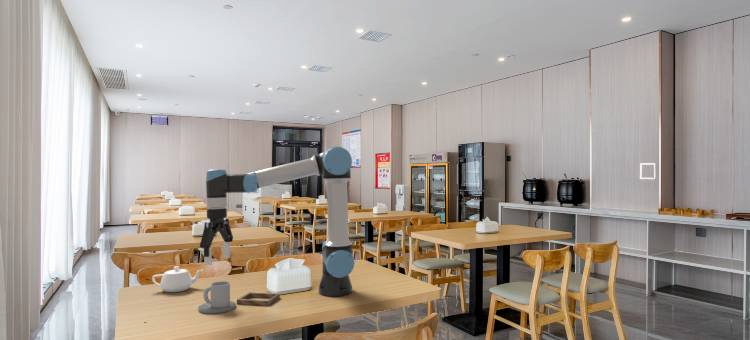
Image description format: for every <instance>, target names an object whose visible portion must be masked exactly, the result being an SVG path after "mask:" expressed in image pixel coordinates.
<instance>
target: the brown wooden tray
mask: <svg viewBox="0 0 750 340" xmlns="http://www.w3.org/2000/svg"><path fill="white" fill-rule="evenodd" d="M280 295H281V294H280V293H272V292H271V293H270V292H269V293H268V292H254V291H253V292H252V291H250V292H247V293H246V294H244V295H243V296H242V295H241V296H240V297H239V298H237V299H236V305H247V306H249V305H250V306H263V307H269V306H271V305H272V304H273V303H275V302H276V301H278V300H279V299H280V298H281V296H280ZM250 298H258V299H250ZM259 298H260V299H259ZM262 299H263V300H262ZM265 299H267V300H265Z"/></svg>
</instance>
